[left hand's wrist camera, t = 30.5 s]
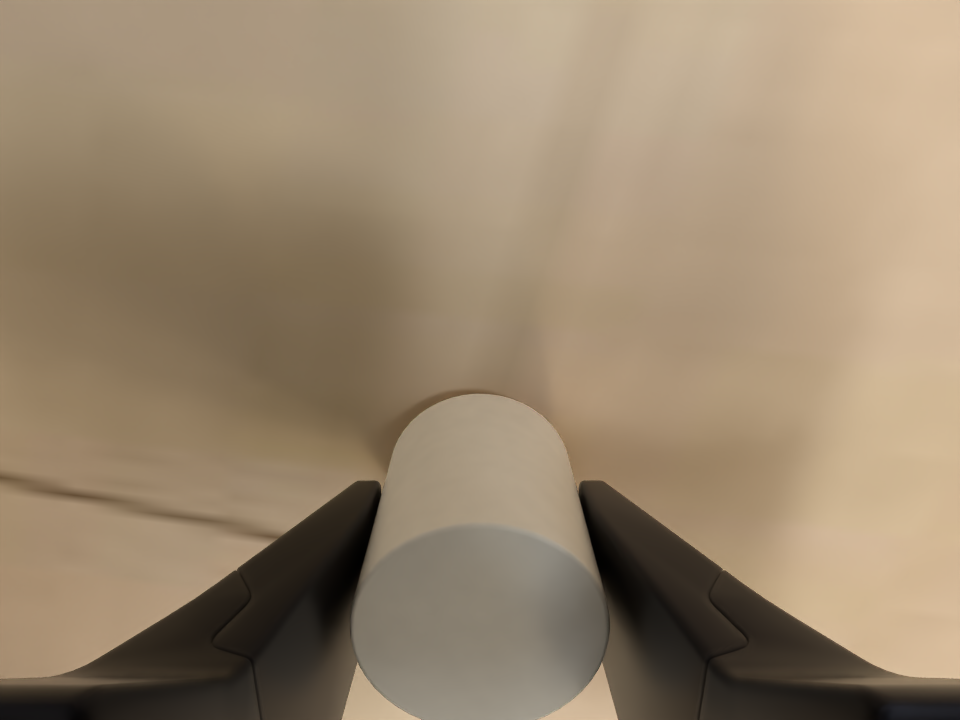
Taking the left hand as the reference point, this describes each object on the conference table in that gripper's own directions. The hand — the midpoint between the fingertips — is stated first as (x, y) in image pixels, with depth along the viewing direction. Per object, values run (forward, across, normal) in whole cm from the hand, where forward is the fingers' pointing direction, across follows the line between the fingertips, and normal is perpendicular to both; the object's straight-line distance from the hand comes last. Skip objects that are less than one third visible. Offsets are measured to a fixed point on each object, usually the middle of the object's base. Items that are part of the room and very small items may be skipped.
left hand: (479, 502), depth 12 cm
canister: (+1, 0, 0) cm, 1 cm away
